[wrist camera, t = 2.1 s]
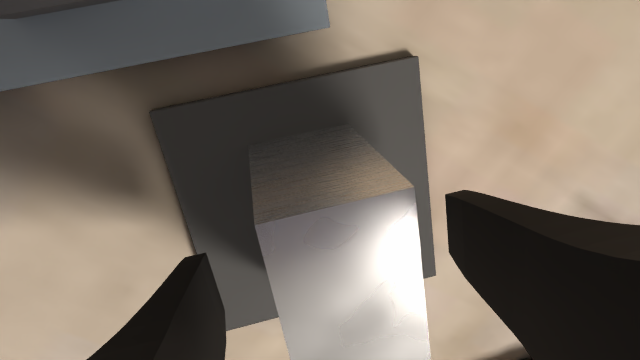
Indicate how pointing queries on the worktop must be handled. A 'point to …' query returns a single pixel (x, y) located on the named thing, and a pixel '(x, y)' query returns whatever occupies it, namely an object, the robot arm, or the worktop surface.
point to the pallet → (134, 32)
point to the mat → (274, 123)
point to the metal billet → (340, 247)
